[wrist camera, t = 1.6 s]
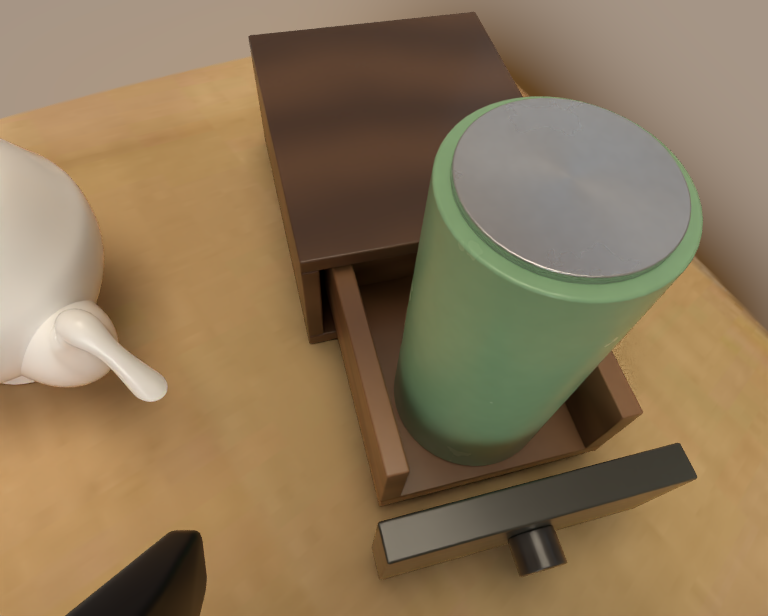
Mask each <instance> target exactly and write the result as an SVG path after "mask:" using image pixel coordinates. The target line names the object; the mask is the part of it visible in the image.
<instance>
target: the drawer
mask: <svg viewBox="0 0 768 616" xmlns="http://www.w3.org/2000/svg"><path fill="white" fill-rule="evenodd" d="M416 257H417V253H411V254H406V255H400V256H394V257H389V258H383V259H378V260H372V261H367V262H361V263H356V264H350V265H345V266H339V267H334V268H328V269H324V273H325V288H326V292H327V296H328V300H329V304H330V308H331V312H332V316H333V320H334V324H335V328H336V332H337V336H338V340H339V345H340V349H341V353H342V357H343V361H344V365H345V369H346V373H347V377H348V381H349V385H350V389H351V393H352V397H353V401H354V405H355V409H356V413H357V418H358V422H359V426H360V430H361V434H362V438H363V442H364V446H365V450H366V454H367V458H368V462H369V466H370V470H371V474H372V478H373V482H374V487H375V491H376V495H377V499H378V503H379V506H383V505H387V504H391V503H394V502H398V501H402V500H406V499H410V498H414V497H417V496H421V495H425V494H429V493H433V492H437V491H441V490H444V489H448V488H452V487H456V486H460V485H464V484H467V483H471V482H475V481H479V480H483V479H487V478H490V477H494V476H498V475H502V474H506V473H510V472H514V471H517V470H521V469H525V468H529V467H533V466H537V465H540V464H544V463H548V462H552V461H556V460H560V459H563V458H567V457H571V456H575V455H579V454H583V453H586V452H590V451H594V450H596V449H597V448H599V447H600V446H601V445H603V444H604V443H605V442H606V441H608V440H609V439H610V438H612V437H613V436H614V435H615V434H617V433H618V432H619V431H621V430H622V429H623V428H625V427H626V426H627V425H628V424H630V423H631V422H632V421H634V420H635V419H636V418H637V417H639V416H640V415H641V414H643V411H642V409H641V407H640V405H639V403H638V401H637V399H636V397H635V395H634V393H633V391H632V389H631V388H630V386H629V384H628V382H627V380H626V378H625V376H624V374H623V372H622V370H621V368H620V366H619V364H618V362H617V360H616V358H615V356H614V354H613V352H612V351H611V352H610V353H609V354H608V355H607V356H606V357H605V359H604V360H603V361H602V362H601V363H600V364H599V365H598V366H597V367H596V369H595V370H594V371H593V372H592V373H591V374H590V375H589V376H588V377H587V378H586V380H585V381H584V382H583V383H582V384H581V385H580V386H579V387H578V388H577V389H576V391H575V392H574V393H573V394H572V395H571V396H570V397H569V398H568V399H567V400H566V402H565V403H564V404H563V405H562V406H561V407H560V408H559V409H558V410H557V411H556V413H555V414H554V415H553V416H552V417H551V418H550V419H549V420H548V421H547V422H546V424H545V425H544V426H543V427H542V428H541V429H540V430H539V431H538V432H537V433H536V435H535V436H534V437H533V438H532V439H531V440H530V441H529V442H528V443H527V444H526V445H525V446H524V447H523V448H522V449H521V450H520V451H519V452H517V453H516V454H515V455H513V456H512V457H510V458H508V459H506V460H504V461H501V462H498V463H495V464H490V465H484V466H468V465H461V464H456V463H452V462H449V461H446V460H444V459H442V458H440V457H438V456H436V455H434V454H432V453H431V452H429V451H428V450H426V449H425V448H424V447H422V446H421V445H420V444H419V443H418V442H417V441H416V440H415V439H414V438H413V437H412V436H411V435H410V433H409V432H408V430H407V429H406V427H405V426H404V424H403V422H402V420H401V418H400V416H399V413H398V411H397V408H396V403H395V398H394V380H395V374H396V369H397V363H398V358H399V352H400V346H401V341H402V335H403V330H404V324H405V319H406V313H407V307H408V302H409V296H410V291H411V285H412V280H413V274H414V268H415V263H416ZM696 478H697V475H696V473H695V471H694V469H693V467H692V465H691V463H690V461H689V460H688V458H687V456H686V454H685V452H684V450H683V448H682V446H681V444H680V443H674V444H671V445H667V446H663V447H659V448H656V449H652V450H648V451H644V452H641V453H637V454H633V455H629V456H625V457H622V458H618V459H614V460H610V461H607V462H603V463H599V464H595V465H592V466H588V467H584V468H580V469H576V470H573V471H569V472H565V473H561V474H558V475H554V476H550V477H546V478H543V479H539V480H535V481H531V482H527V483H524V484H520V485H516V486H512V487H509V488H505V489H501V490H497V491H494V492H490V493H486V494H482V495H478V496H475V497H471V498H467V499H463V500H460V501H456V502H452V503H448V504H445V505H441V506H437V507H433V508H429V509H426V510H422V511H418V512H414V513H411V514H407V515H403V516H399V517H396V518H392V519H388V520H384V521H380V522H379V523H378V525H377V529H376V533H375V536H374V540H373V544H372V550H373V554H374V559H375V563H376V567H377V572H378V576H379V579H381V580H382V579H386V578H389V577H393V576H397V575H400V574H404V573H407V572H411V571H414V570H418V569H421V568H425V567H428V566H432V565H435V564H439V563H442V562H446V561H449V560H453V559H456V558H460V557H463V556H467V555H470V554H474V553H477V552H481V551H485V550H488V549H492V548H495V547H499V546H502V545H506V544H509V546H510V549H511V552H512V555H513V558H514V561H515V564H516V567H517V570H518V573H519V575H520V577H524V576H527V575H531V574H534V573H538V572H541V571H544V570H548V569H551V568H554V567H557V566H560V565H563V564H566V563H567V560H566V558H565V555H564V552H563V550H562V547H561V545H560V542H559V539H558V537H557V534H556V532H555V530H558V529H562V528H566V527H569V526H573V525H576V524H580V523H583V522H587V521H590V520H594V519H597V518H601V517H604V516H608V515H611V514H615V513H618V512H622V511H625V510H629V509H632V508H635V507H637V506H639V505H641V504H643V503H646V502H648V501H650V500H652V499H654V498H656V497H658V496H661V495H663V494H665V493H667V492H669V491H671V490H673V489H676V488H678V487H680V486H682V485H684V484H686V483H688V482H691V481H693V480H695V479H696Z"/></svg>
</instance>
